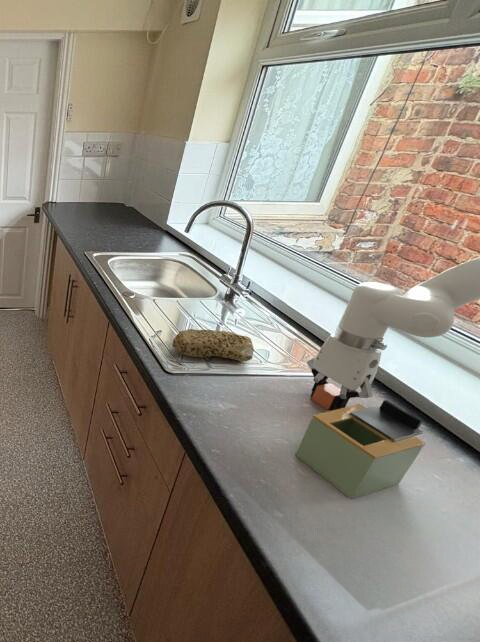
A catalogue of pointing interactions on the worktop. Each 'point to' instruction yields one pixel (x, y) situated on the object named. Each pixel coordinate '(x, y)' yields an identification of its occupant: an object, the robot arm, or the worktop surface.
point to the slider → (390, 420)
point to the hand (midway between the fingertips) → (326, 401)
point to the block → (326, 395)
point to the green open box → (355, 453)
